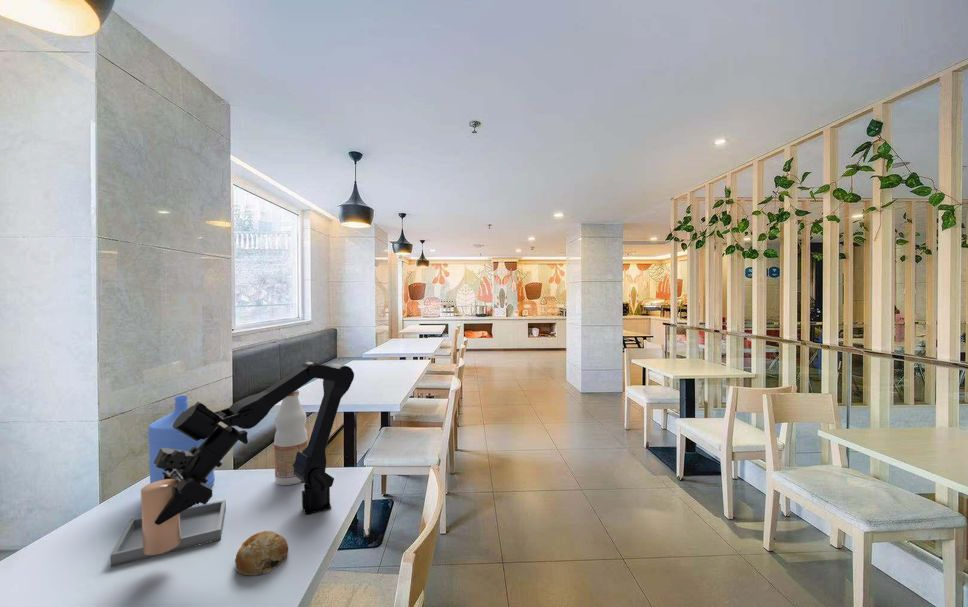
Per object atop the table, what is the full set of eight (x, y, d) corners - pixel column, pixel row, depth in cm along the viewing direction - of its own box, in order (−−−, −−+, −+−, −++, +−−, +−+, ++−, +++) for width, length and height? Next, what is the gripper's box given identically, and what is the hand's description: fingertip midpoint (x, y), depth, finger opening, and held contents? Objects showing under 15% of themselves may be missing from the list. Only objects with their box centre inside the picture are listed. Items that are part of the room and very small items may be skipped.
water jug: (202, 499, 118) (199, 401, 117) (137, 506, 114) (134, 405, 113) (222, 475, 133) (220, 389, 132) (166, 481, 129) (164, 392, 128)
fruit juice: (282, 489, 124) (280, 396, 123) (270, 479, 130) (268, 391, 129) (313, 478, 130) (311, 390, 130) (300, 470, 137) (299, 386, 136)
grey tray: (225, 508, 112) (225, 499, 112) (220, 539, 98) (220, 529, 98) (131, 529, 103) (131, 519, 103) (111, 566, 89) (110, 555, 89)
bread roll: (246, 598, 84) (255, 569, 82) (222, 561, 89) (230, 533, 87) (291, 570, 93) (300, 543, 91) (267, 538, 98) (275, 512, 96)
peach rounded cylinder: (183, 533, 93) (181, 476, 92) (178, 549, 87) (176, 488, 86) (147, 542, 89) (145, 483, 89) (139, 558, 84) (137, 495, 83)
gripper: (171, 423, 97) (110, 486, 89) (192, 443, 84) (122, 518, 76) (212, 447, 103) (157, 508, 95) (236, 468, 90) (176, 541, 82)
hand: (153, 517), depth 87 cm, fingers closed on peach rounded cylinder, 6 cm apart
